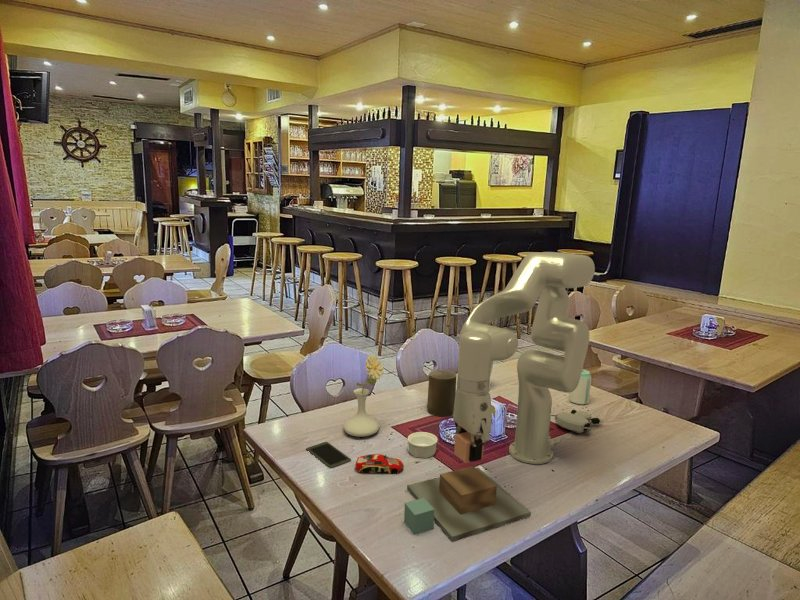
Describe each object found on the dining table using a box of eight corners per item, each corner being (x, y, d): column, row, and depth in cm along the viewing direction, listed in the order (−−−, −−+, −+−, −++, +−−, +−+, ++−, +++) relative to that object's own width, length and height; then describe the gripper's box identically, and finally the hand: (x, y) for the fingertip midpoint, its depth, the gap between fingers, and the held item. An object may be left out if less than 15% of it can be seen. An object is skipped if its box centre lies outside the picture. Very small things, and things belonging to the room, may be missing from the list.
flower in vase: (355, 443, 155) (355, 365, 150) (336, 429, 164) (336, 355, 159) (390, 432, 163) (392, 357, 158) (370, 419, 172) (371, 348, 167)
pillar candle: (447, 419, 174) (449, 377, 171) (422, 412, 179) (423, 371, 176) (459, 409, 182) (461, 369, 179) (435, 403, 187) (437, 364, 184)
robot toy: (570, 417, 181) (548, 426, 170) (572, 404, 180) (549, 413, 170) (604, 429, 172) (582, 439, 162) (606, 416, 171) (584, 426, 161)
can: (564, 399, 193) (567, 369, 191) (579, 397, 196) (582, 367, 194) (578, 406, 187) (581, 375, 185) (592, 403, 190) (596, 373, 188)
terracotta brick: (471, 449, 128) (472, 430, 127) (482, 458, 123) (484, 439, 122) (454, 453, 125) (455, 434, 124) (465, 462, 121) (466, 443, 120)
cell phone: (326, 443, 156) (326, 441, 156) (352, 462, 146) (352, 459, 145) (305, 450, 151) (305, 448, 151) (330, 470, 141) (330, 467, 141)
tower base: (478, 471, 142) (479, 450, 140) (530, 516, 122) (532, 493, 121) (407, 489, 132) (407, 467, 131) (451, 541, 113) (453, 516, 111)
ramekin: (418, 462, 146) (418, 448, 145) (401, 449, 153) (401, 436, 152) (443, 454, 151) (443, 440, 150) (425, 442, 158) (425, 429, 157)
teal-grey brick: (423, 516, 121) (423, 497, 120) (433, 529, 117) (434, 509, 116) (404, 522, 119) (404, 502, 118) (414, 534, 115) (414, 515, 114)
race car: (403, 465, 144) (403, 452, 143) (403, 476, 139) (403, 462, 138) (356, 463, 144) (356, 450, 144) (354, 474, 139) (354, 460, 138)
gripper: (508, 394, 115) (502, 468, 118) (466, 370, 130) (462, 437, 133) (480, 399, 112) (475, 475, 115) (441, 374, 127) (437, 442, 130)
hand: (468, 454), depth 124 cm, fingers closed on terracotta brick, 4 cm apart
